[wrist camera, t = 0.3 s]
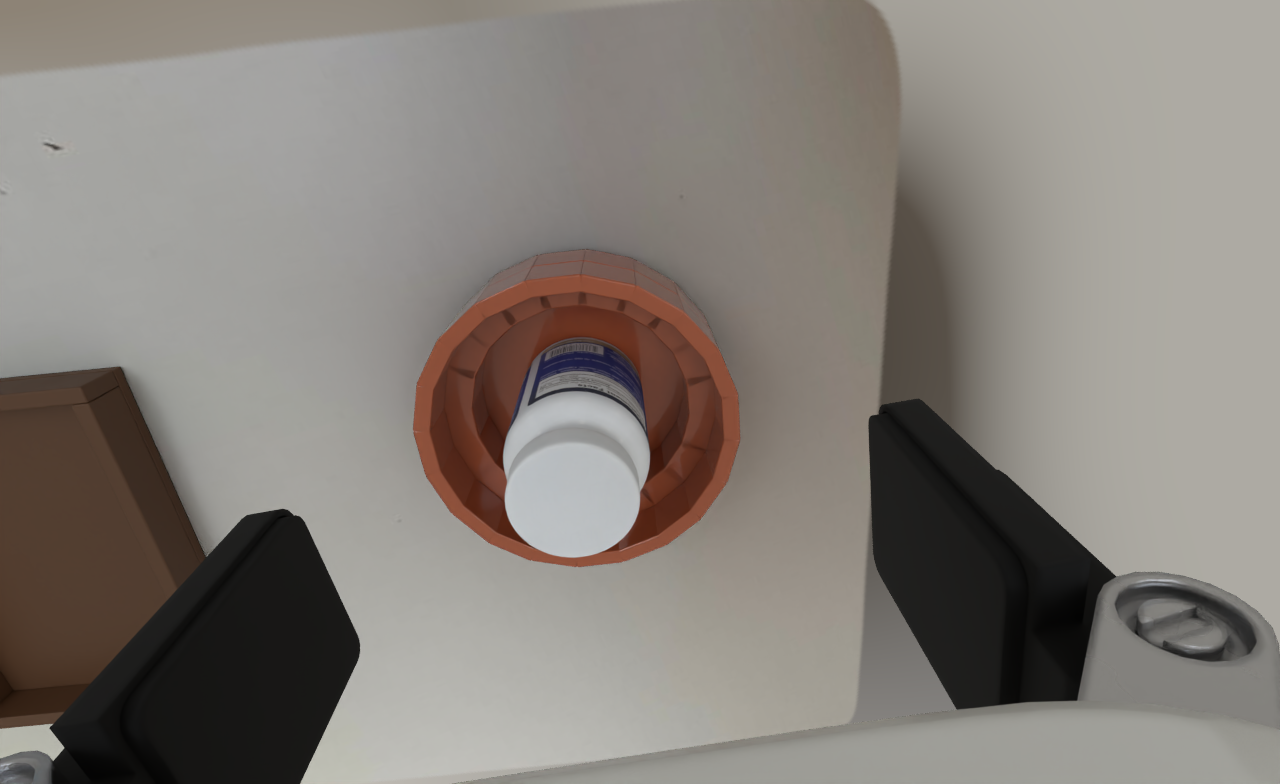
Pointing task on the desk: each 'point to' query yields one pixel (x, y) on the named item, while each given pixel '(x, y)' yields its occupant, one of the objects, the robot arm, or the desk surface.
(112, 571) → the tray
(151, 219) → the desk surface
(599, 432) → the pill bottle
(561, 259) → the bowl
